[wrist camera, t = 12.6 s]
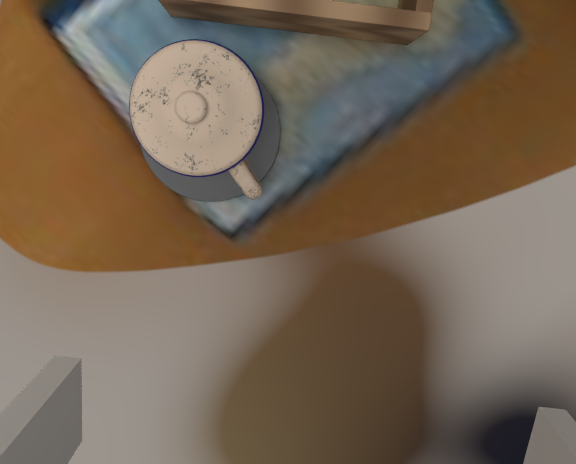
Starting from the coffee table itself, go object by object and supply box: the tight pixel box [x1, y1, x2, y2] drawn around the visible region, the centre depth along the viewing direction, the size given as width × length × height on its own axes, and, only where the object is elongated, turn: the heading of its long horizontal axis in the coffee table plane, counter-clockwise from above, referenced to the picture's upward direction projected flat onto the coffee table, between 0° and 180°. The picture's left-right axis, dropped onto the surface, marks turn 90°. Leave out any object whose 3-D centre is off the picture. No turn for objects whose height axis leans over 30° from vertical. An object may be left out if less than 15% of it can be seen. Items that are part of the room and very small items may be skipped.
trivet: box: [140, 76, 280, 202], centre depth 43 cm, size 12×12×1 cm
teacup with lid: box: [129, 39, 264, 199], centre depth 37 cm, size 12×9×12 cm
